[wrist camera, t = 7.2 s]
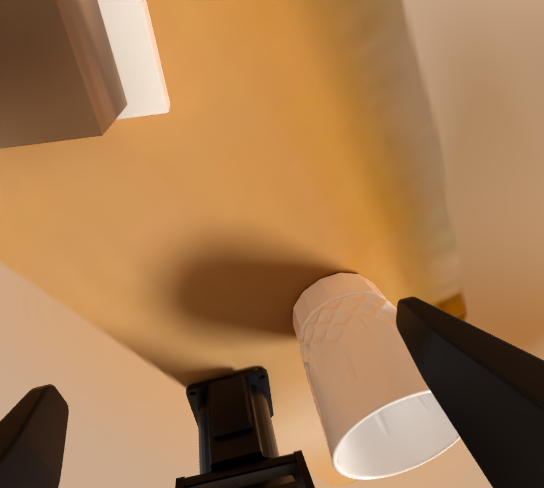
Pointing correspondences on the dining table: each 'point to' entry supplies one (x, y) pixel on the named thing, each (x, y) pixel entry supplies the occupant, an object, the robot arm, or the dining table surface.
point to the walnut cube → (55, 72)
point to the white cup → (366, 381)
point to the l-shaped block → (135, 56)
